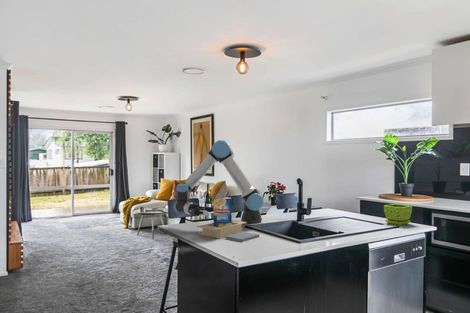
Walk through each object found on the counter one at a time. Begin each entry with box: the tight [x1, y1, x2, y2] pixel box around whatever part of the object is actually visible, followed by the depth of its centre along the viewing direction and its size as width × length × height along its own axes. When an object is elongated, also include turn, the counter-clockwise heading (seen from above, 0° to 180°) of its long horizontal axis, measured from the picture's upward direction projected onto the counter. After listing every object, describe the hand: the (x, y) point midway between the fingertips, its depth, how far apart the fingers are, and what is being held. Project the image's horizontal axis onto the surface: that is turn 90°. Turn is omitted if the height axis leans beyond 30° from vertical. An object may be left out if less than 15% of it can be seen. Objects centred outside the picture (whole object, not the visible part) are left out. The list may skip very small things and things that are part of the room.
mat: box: [225, 231, 260, 243], centre depth 205 cm, size 16×12×2 cm
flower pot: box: [383, 203, 413, 226], centre depth 248 cm, size 14×14×13 cm
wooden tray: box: [196, 219, 248, 240], centre depth 215 cm, size 29×15×6 cm, turn 139°
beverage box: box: [212, 196, 233, 228], centre depth 215 cm, size 7×11×22 cm, turn 95°
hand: (215, 212), depth 218 cm, fingers open, 13 cm apart
